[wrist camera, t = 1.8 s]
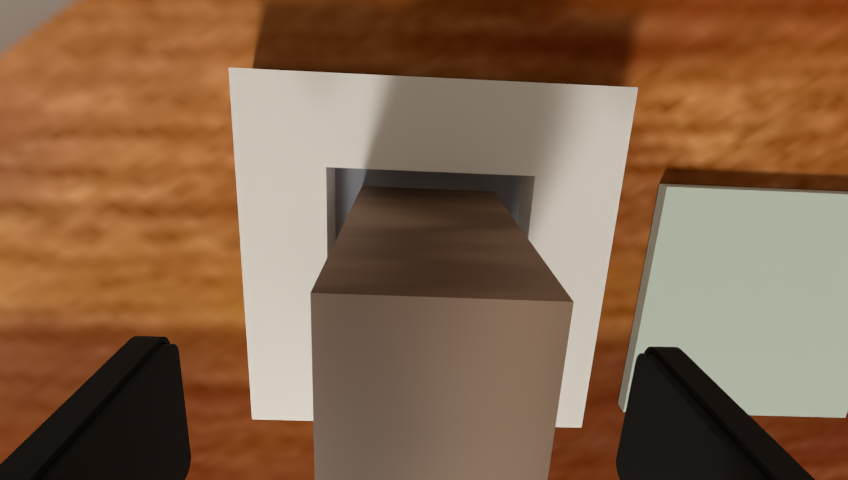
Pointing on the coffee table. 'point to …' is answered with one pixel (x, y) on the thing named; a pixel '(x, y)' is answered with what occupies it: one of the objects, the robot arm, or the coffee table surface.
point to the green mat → (750, 294)
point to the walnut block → (435, 342)
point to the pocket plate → (415, 168)
